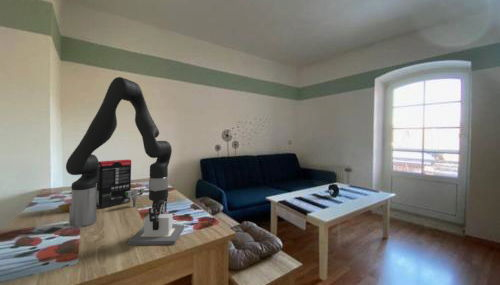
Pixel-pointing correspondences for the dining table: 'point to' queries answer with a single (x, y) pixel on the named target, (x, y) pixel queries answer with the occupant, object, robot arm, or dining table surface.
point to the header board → (156, 237)
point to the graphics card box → (113, 183)
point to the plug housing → (164, 225)
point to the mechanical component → (134, 195)
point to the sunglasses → (64, 207)
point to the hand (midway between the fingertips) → (158, 226)
